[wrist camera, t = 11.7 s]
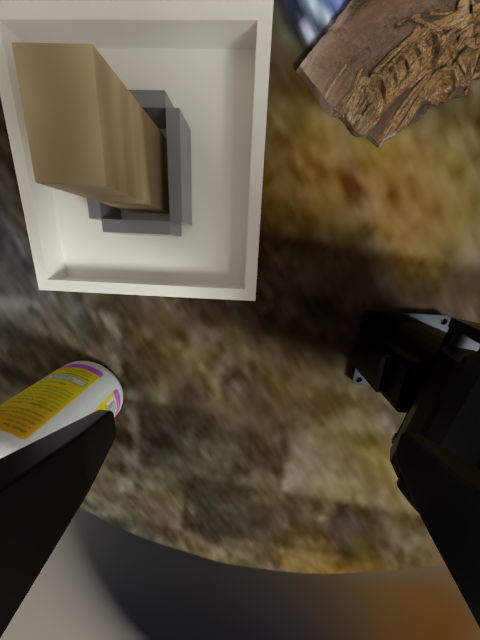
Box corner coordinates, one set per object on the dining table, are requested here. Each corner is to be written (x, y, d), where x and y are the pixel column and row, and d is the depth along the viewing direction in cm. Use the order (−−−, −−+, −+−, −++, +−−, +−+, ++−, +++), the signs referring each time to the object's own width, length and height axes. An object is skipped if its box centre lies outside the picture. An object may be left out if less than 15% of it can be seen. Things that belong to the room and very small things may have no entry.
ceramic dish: (270, 40, 15) (274, -13, 12) (255, 294, 19) (255, 302, 16) (23, 39, 15) (-32, -12, 12) (64, 285, 20) (31, 291, 17)
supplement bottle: (44, 375, 23) (-204, 523, 10) (98, 346, 21) (-110, 475, 9) (87, 428, 24) (-85, 612, 12) (140, 404, 23) (9, 581, 11)
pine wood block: (169, 141, 16) (92, 43, 8) (171, 214, 17) (106, 185, 10) (125, 140, 16) (11, 41, 9) (130, 211, 18) (35, 182, 10)
